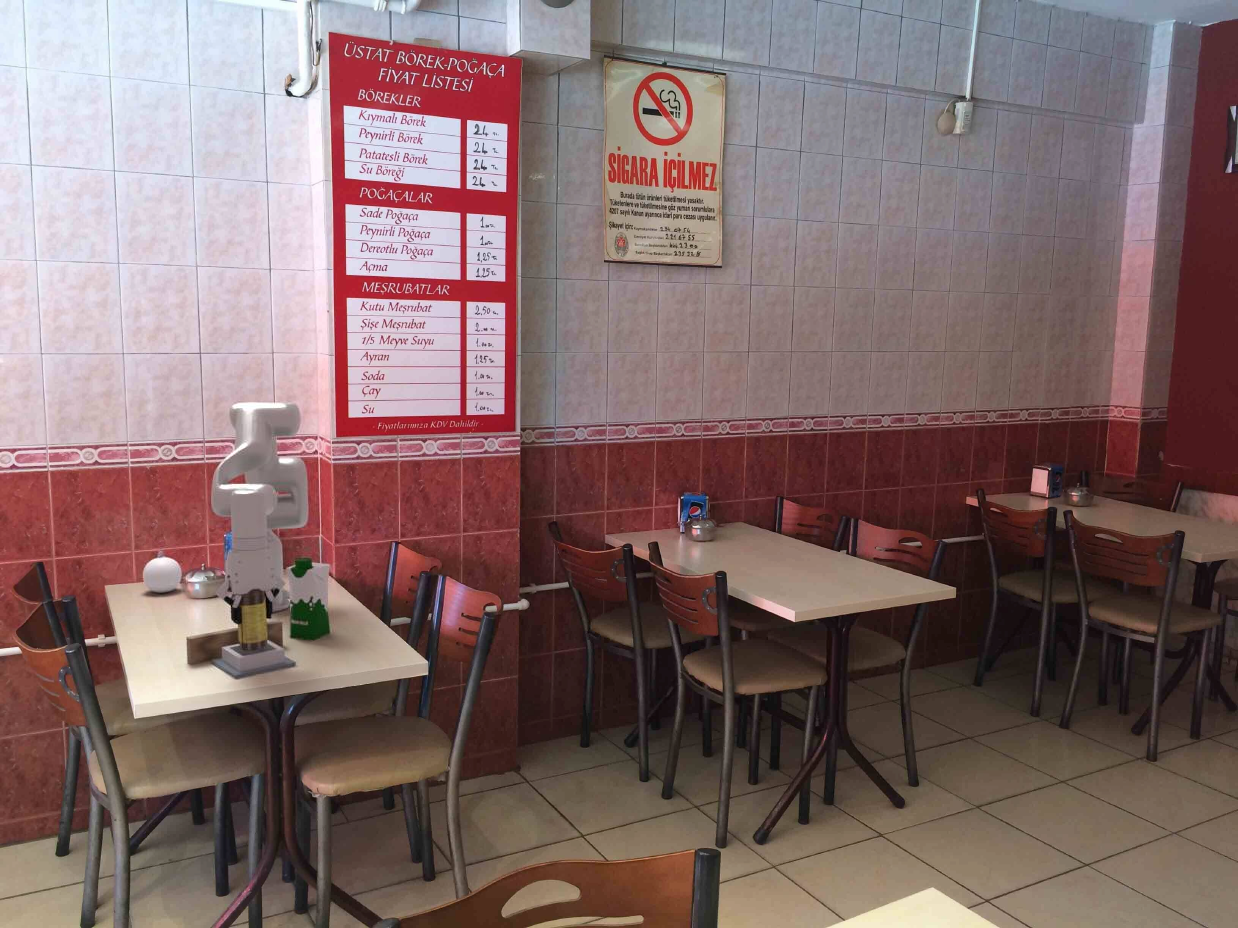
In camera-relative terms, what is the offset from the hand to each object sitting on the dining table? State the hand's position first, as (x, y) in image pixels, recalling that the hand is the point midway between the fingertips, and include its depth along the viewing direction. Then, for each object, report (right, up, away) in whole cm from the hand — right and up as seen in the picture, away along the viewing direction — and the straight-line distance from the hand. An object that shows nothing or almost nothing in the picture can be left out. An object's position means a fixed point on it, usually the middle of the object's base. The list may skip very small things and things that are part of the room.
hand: (252, 619), depth 228 cm
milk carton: (+6, -8, +24) cm, 26 cm away
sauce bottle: (0, -7, +1) cm, 7 cm away
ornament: (-50, -2, +64) cm, 81 cm away
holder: (0, -10, +1) cm, 11 cm away
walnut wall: (-7, -9, +9) cm, 15 cm away
